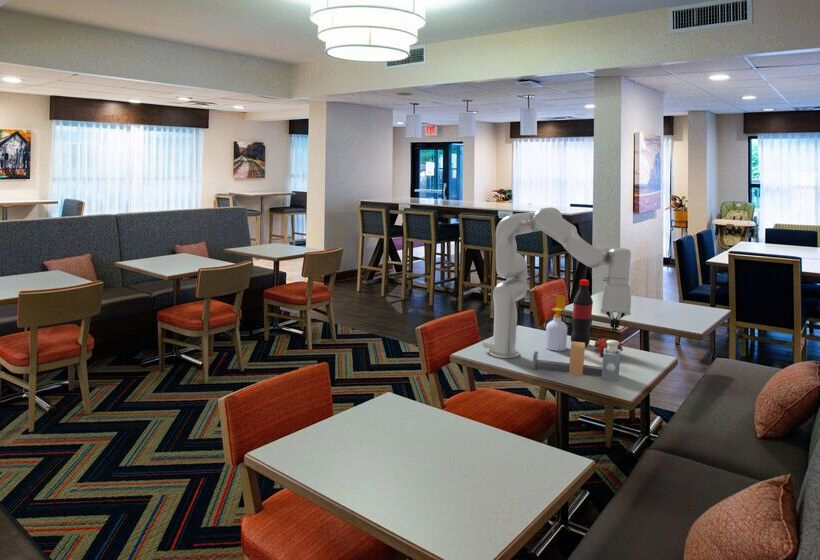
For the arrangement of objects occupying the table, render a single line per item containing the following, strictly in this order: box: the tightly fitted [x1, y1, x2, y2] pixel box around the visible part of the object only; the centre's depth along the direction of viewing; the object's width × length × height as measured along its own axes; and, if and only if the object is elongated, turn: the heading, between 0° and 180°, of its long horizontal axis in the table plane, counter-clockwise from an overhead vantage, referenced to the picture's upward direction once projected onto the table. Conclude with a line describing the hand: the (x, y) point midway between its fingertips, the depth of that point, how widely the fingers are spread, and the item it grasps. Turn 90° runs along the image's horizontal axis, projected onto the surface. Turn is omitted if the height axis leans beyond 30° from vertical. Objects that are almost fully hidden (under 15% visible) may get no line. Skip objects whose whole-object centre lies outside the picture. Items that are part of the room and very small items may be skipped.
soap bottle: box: [544, 293, 568, 352], centre depth 260 cm, size 9×9×25 cm
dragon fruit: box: [593, 337, 624, 356], centre depth 252 cm, size 8×8×12 cm
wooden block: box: [568, 341, 586, 376], centre depth 230 cm, size 5×7×11 cm
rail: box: [532, 350, 602, 378], centre depth 231 cm, size 27×5×6 cm, turn 72°
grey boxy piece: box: [601, 348, 621, 382], centre depth 226 cm, size 6×8×10 cm
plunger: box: [606, 339, 620, 354], centre depth 225 cm, size 5×5×5 cm
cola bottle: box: [570, 279, 594, 347], centre depth 265 cm, size 8×8×30 cm
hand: (614, 329), depth 223 cm, fingers closed
